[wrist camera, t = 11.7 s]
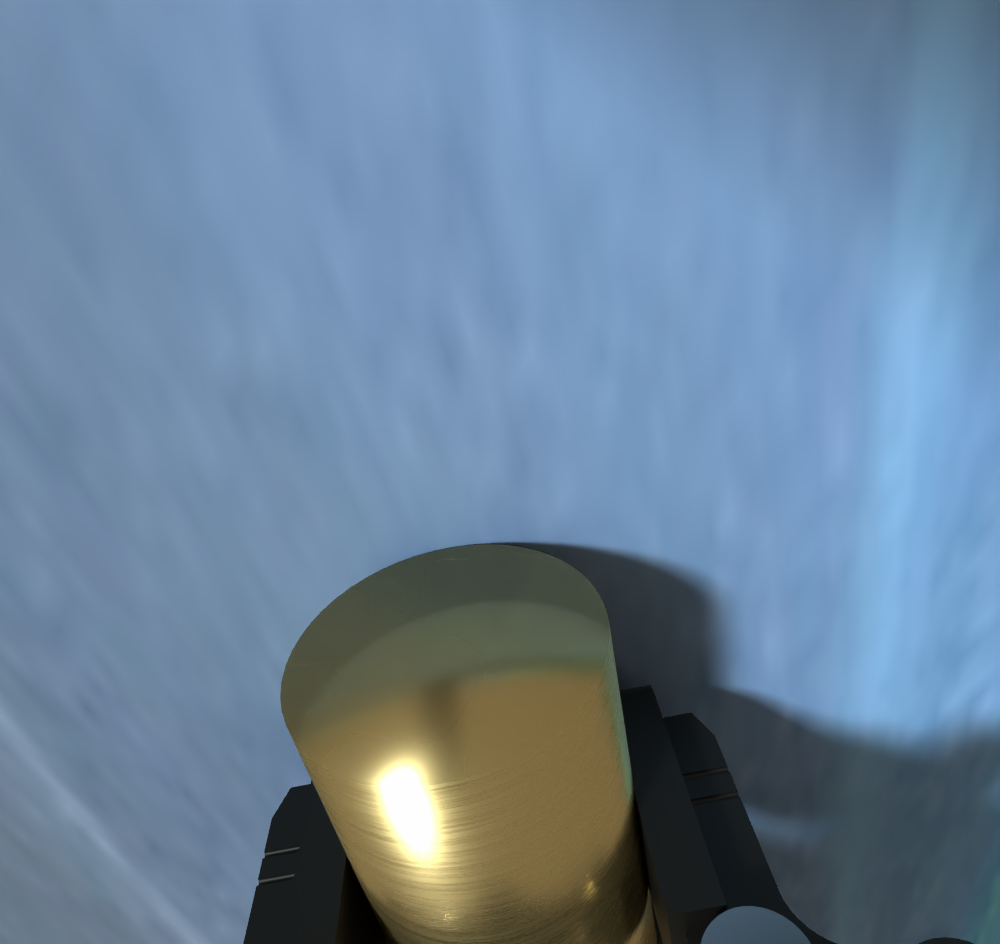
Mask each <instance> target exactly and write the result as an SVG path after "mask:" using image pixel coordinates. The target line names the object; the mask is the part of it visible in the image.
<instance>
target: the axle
mask: <svg viewBox="0 0 1000 944" xmlns="http://www.w3.org/2000/svg"><path fill="white" fill-rule="evenodd" d="M280 697H281V707H282V713H283V716H284V720H285V723H286V726H287V728H288V730H289V733H290V735H291V737H292V739H293V741H294V743H295V745H296V748H297V750H298V752H299V754H300V756H301V758H302V760H303V763H304V765H305V767H306V769H307V771H308V773H309V775H310V778H311V780H312V782H313V784H314V786H315V788H316V790H317V793H318V795H319V797H320V799H321V801H322V803H323V805H324V808H325V810H326V812H327V814H328V816H329V818H330V820H331V823H332V825H333V827H334V829H335V831H336V833H337V835H338V838H339V840H340V842H341V844H342V846H343V848H344V850H345V853H346V855H347V857H348V859H349V861H350V863H351V865H352V868H353V870H354V872H355V874H356V876H357V878H358V880H359V883H360V885H361V887H362V889H363V891H364V893H365V895H366V898H367V900H368V902H369V904H370V906H371V908H372V910H373V913H374V915H375V917H376V919H377V921H378V923H379V925H380V928H381V930H382V932H383V934H384V936H385V938H386V940H387V943H388V944H658V943H657V936H656V930H655V923H654V916H653V910H652V903H651V897H650V891H649V887H648V882H647V875H646V868H645V862H644V855H643V849H642V842H641V835H640V829H639V822H638V816H637V809H636V802H635V796H634V789H633V779H632V770H631V764H630V757H629V751H628V744H627V737H626V731H625V724H624V717H623V711H622V704H621V697H620V691H619V684H618V677H617V671H616V664H615V658H614V651H613V644H612V638H611V631H610V624H609V618H608V614H607V611H606V608H605V605H604V602H603V600H602V599H601V597H600V595H599V593H598V591H597V590H596V589H595V587H594V586H593V585H592V584H591V582H590V581H589V580H588V579H587V578H586V577H585V576H584V575H583V574H581V573H580V572H579V571H578V570H577V569H575V568H574V567H572V566H571V565H569V564H568V563H566V562H564V561H562V560H560V559H558V558H556V557H554V556H552V555H549V554H546V553H543V552H540V551H537V550H533V549H528V548H524V547H518V546H510V545H496V544H481V545H466V546H458V547H451V548H445V549H440V550H435V551H432V552H428V553H424V554H421V555H417V556H414V557H411V558H409V559H406V560H403V561H400V562H398V563H395V564H393V565H391V566H388V567H386V568H384V569H382V570H380V571H378V572H376V573H374V574H372V575H370V576H369V577H367V578H365V579H363V580H362V581H360V582H359V583H357V584H355V585H354V586H352V587H351V588H349V589H348V590H347V591H345V592H344V593H343V594H341V595H340V596H339V597H337V598H336V599H335V600H334V601H333V602H331V603H330V604H329V605H328V606H327V607H326V608H325V609H324V610H323V611H322V612H321V613H320V614H319V615H318V616H317V617H316V618H315V619H314V620H313V621H312V622H311V624H310V625H309V626H308V627H307V629H306V630H305V631H304V633H303V634H302V635H301V637H300V638H299V640H298V642H297V643H296V645H295V647H294V649H293V650H292V652H291V655H290V657H289V659H288V662H287V664H286V667H285V671H284V674H283V678H282V684H281V696H280Z"/></svg>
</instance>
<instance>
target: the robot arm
mask: <svg viewBox="0 0 1000 944" xmlns="http://www.w3.org/2000/svg"><path fill="white" fill-rule="evenodd" d="M620 697H621V704H622V711H623V717H624V724H625V731H626V737H627V744H628V751H629V757H630V764H631V770H632V779H633V789H634V796H635V802H636V809H637V816H638V822H639V829H640V835H641V842H642V849H643V855H644V862H645V868H646V875H647V882H648V887H649V891H650V895H651V899H652V903H653V907H654V911H655V915H656V919H657V923H658V927H659V931H660V935H661V939H662V942H663V944H836V943H834V942H831V941H829V940H827V939H825V938H823V937H821V936H819V935H818V934H816V933H815V932H813V931H812V930H811V929H809V928H808V927H806V926H805V925H804V924H803V923H802V922H801V921H800V920H799V919H798V918H797V917H796V916H795V915H794V914H793V913H792V912H791V910H790V909H789V908H788V906H787V905H786V903H785V902H784V900H783V898H782V896H781V894H780V892H779V890H778V888H777V885H776V883H775V881H774V878H773V876H772V873H771V871H770V868H769V866H768V864H767V861H766V859H765V856H764V854H763V852H762V849H761V847H760V844H759V842H758V839H757V837H756V835H755V832H754V830H753V827H752V825H751V823H750V820H749V818H748V815H747V813H746V810H745V808H744V806H743V803H742V801H741V798H740V797H739V796H738V792H737V789H736V786H735V784H734V781H733V779H732V777H731V774H730V772H729V771H728V768H727V765H726V762H725V760H724V757H723V755H722V752H721V750H720V748H719V745H718V743H717V740H716V738H715V736H714V735H713V734H712V733H711V732H710V731H709V730H708V729H707V728H706V727H705V726H704V725H703V724H702V723H701V722H700V721H699V720H698V719H697V718H696V717H695V716H694V715H693V714H692V713H686V714H681V715H676V716H670V717H665V718H662V715H661V712H660V709H659V706H658V703H657V700H656V697H655V694H654V692H653V689H652V687H651V686H650V685H648V686H643V687H638V688H632V689H627V690H622V691H620ZM264 852H265V858H263V860H262V865H261V869H260V873H259V878H258V880H259V885H258V886H257V887H256V891H255V895H254V900H253V904H252V908H251V913H250V917H249V922H248V926H247V930H246V935H245V939H244V944H388V943H387V940H386V938H385V936H384V934H383V932H382V930H381V928H380V925H379V923H378V921H377V919H376V917H375V915H374V913H373V910H372V908H371V906H370V904H369V902H368V900H367V898H366V895H365V893H364V891H363V889H362V887H361V885H360V883H359V880H358V878H357V876H356V874H355V872H354V870H353V868H352V865H351V863H350V861H349V859H348V857H347V855H346V853H345V850H344V848H343V846H342V844H341V842H340V840H339V838H338V835H337V833H336V831H335V829H334V827H333V825H332V823H331V820H330V818H329V816H328V814H327V812H326V810H325V808H324V805H323V803H322V801H321V799H320V797H319V795H318V793H317V790H316V788H315V786H314V784H313V782H312V781H311V784H308V785H303V786H298V787H292V788H291V789H290V790H289V792H288V793H287V795H286V797H285V798H284V800H283V802H282V803H281V805H280V806H279V808H278V810H277V811H276V813H275V815H274V816H273V818H272V821H271V825H270V829H269V834H268V838H267V843H266V847H265V851H264ZM919 944H973V943H971V942H968V941H964V940H960V939H955V938H933V939H929V940H925V941H923V942H921V943H919Z"/></svg>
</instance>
